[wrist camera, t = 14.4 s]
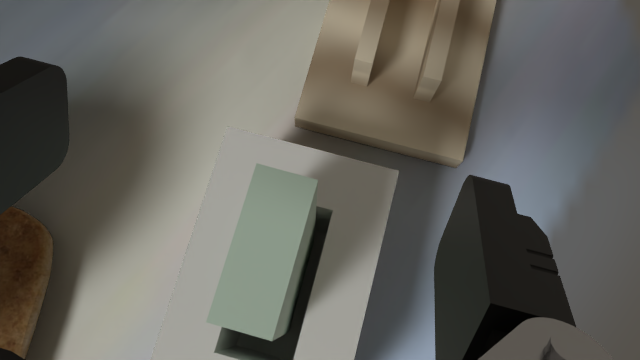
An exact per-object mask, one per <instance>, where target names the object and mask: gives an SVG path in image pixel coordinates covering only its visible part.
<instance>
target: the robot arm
mask: <svg viewBox="0 0 640 360" xmlns="http://www.w3.org/2000/svg"><path fill="white" fill-rule="evenodd" d="M68 145H69V123H68V100H67V80H66V75H65V73H64V71H63V69H62V68H61V67H59V66H56V65H52V64H48V63H44V62H40V61H36V60H33V59H29V58H25V57H16V58H14V59H11V60H9V61H7V62H5V63H3V64H1V65H0V215H1V214H2V213H3V212H4V211H6V210H7V209H8V208H9V207H11V206H12V205H13V204H14V203H15V202H17V201H18V200H19V199H20V198H22V197H23V196H24V195H25V194H26V193H28V192H29V191H30V190H31V189H33V188H34V187H35V186H36V185H38V184H39V183H40V182H41V181H42V180H44V179H45V178H46V177H47V176H49V175H50V174H51V173H52V172H53V171H55V170H56V169H57V168H58V167H59V166H60V165H61V163H62V162H63V160H64V158H65V156H66V153H67V150H68ZM552 258H553V254H552V250H551V247H550V244H549V241H548V238H547V236H546V235H545V234H544V232H543V231H542V230H541V229H540V228H539V226H538V225H537V224H536V223H535V222H534V221H533V219H532V218H531V217H528V216H524V215H520V214H517V211H516V207H515V203H514V199H513V195H512V192H511V188H510V186H509V185H507V184H504V183H500V182H496V181H492V180H488V179H485V178H481V177H477V176H473V175H469V176H468V177H467V178H466V180H465V181H464V183H463V186H462V188H461V191H460V193H459V196H458V198H457V201H456V203H455V206H454V208H453V211H452V213H451V216H450V218H449V221H448V223H447V226H446V228H445V231H444V233H443V236H442V238H441V241H440V244H439V247H438V251H437V255H436V260H435V267H434V288H435V351H436V360H613V358H612V357H611V356H610V354H609V353H608V352H607V351H606V350H605V349H604V348H603V347H602V346H601V345H600V344H599V343H598V342H597V341H595V340H594V339H593V338H592V337H591V336H589V335H588V334H586V333H585V332H583V331H581V330H580V329H578V328H576V325H575V322H574V319H573V316H572V313H571V310H570V306H569V303H568V300H567V297H566V294H565V291H564V288H563V285H562V281H561V278H560V276H558V269H557V266H556V263H555V260H554V259H552ZM0 360H25V359H23V358H22V357H20V356H18V355H17V354H15V353H14V352H12V351H10V350H6V349H3V348H0Z"/></svg>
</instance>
